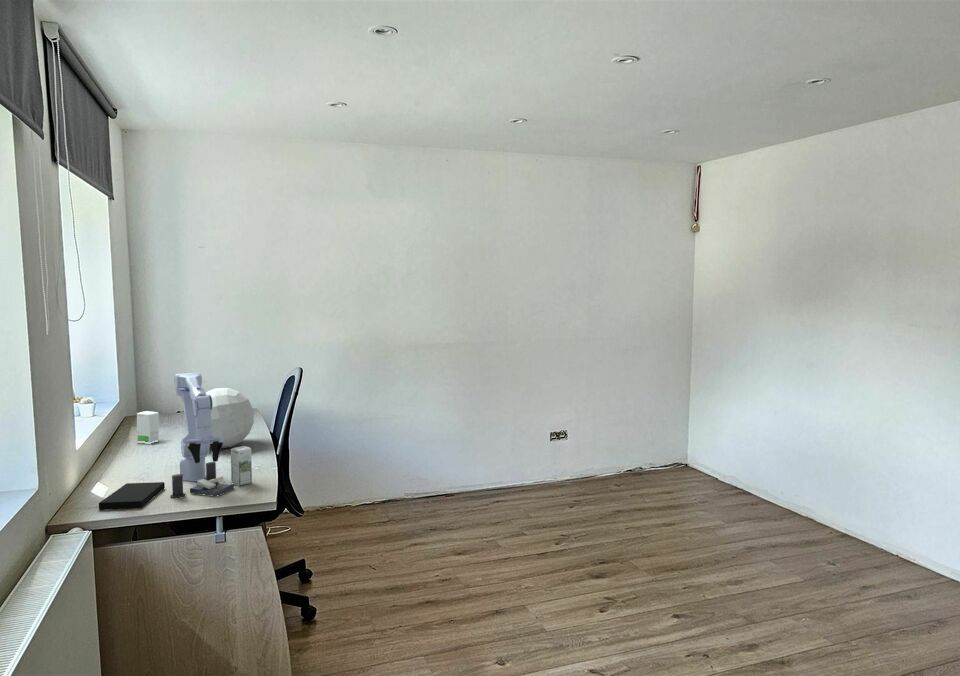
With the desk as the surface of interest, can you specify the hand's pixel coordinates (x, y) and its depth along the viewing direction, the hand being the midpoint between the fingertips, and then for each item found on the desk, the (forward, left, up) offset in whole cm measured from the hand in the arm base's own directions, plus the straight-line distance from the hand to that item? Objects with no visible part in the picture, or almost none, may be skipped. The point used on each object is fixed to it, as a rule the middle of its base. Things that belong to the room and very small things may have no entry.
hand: (206, 462), depth 251 cm
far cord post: (-5, +8, -11) cm, 15 cm away
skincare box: (-83, +55, -11) cm, 101 cm away
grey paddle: (+2, -3, -7) cm, 8 cm away
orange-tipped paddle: (+2, +1, -7) cm, 8 cm away
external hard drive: (-19, -17, -12) cm, 28 cm away
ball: (-41, +59, -11) cm, 73 cm away
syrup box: (+7, +11, -11) cm, 17 cm away
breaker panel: (+3, -1, -11) cm, 11 cm away
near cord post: (-5, -10, -11) cm, 16 cm away
